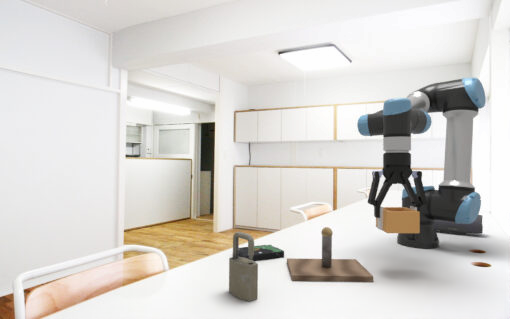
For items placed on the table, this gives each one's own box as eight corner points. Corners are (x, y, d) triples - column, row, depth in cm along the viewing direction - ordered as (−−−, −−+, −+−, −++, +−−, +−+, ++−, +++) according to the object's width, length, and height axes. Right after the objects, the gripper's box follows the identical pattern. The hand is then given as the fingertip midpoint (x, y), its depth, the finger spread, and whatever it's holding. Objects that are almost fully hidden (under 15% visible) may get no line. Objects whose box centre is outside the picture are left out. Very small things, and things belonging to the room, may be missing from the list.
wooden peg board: (355, 264, 107) (356, 222, 107) (373, 282, 91) (373, 233, 91) (286, 263, 107) (287, 222, 107) (292, 280, 91) (292, 232, 91)
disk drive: (244, 264, 107) (284, 258, 114) (244, 256, 107) (284, 250, 114) (232, 256, 116) (270, 251, 123) (232, 248, 116) (270, 243, 123)
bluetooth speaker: (481, 234, 155) (482, 212, 155) (482, 238, 147) (482, 215, 147) (426, 228, 167) (426, 208, 167) (424, 231, 159) (424, 210, 159)
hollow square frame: (405, 226, 103) (405, 207, 103) (419, 233, 94) (419, 211, 94) (375, 226, 103) (375, 207, 103) (387, 233, 94) (387, 211, 94)
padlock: (246, 302, 77) (247, 236, 77) (226, 291, 83) (226, 231, 83) (260, 298, 79) (260, 234, 79) (238, 288, 86) (239, 229, 86)
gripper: (427, 152, 102) (427, 226, 102) (355, 152, 102) (355, 226, 102) (441, 151, 94) (441, 231, 94) (363, 151, 95) (363, 231, 95)
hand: (396, 228), depth 98 cm, fingers closed on hollow square frame, 9 cm apart
